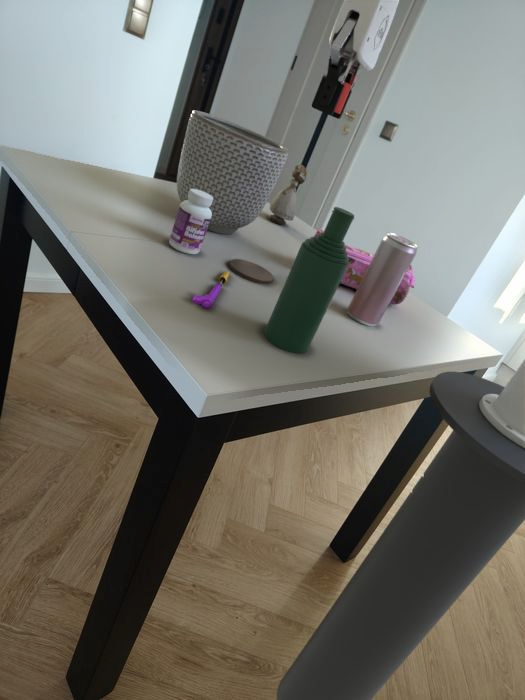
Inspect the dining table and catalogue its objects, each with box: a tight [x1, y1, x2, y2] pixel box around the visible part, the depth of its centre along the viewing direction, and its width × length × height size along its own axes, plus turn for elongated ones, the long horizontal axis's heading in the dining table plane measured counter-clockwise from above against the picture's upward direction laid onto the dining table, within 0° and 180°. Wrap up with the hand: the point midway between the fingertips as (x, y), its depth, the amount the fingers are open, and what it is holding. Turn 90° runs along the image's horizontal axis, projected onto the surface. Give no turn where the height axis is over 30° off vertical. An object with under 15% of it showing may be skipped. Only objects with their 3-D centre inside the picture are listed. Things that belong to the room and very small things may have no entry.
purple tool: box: [191, 270, 230, 309], centre depth 75 cm, size 3×1×16 cm
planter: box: [176, 109, 290, 235], centre depth 100 cm, size 20×20×19 cm
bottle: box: [263, 206, 355, 354], centre depth 65 cm, size 6×6×18 cm
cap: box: [326, 77, 352, 114], centre depth 71 cm, size 4×4×4 cm
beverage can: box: [347, 231, 419, 327], centre depth 86 cm, size 6×6×15 cm
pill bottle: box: [168, 189, 213, 255], centre depth 83 cm, size 5×5×10 cm
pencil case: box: [313, 229, 416, 306], centre depth 100 cm, size 21×9×9 cm, turn 89°
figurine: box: [269, 163, 308, 226], centre depth 127 cm, size 8×7×15 cm
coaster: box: [229, 258, 275, 285], centre depth 87 cm, size 8×8×1 cm
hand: (326, 112), depth 72 cm, fingers closed on cap, 3 cm apart
